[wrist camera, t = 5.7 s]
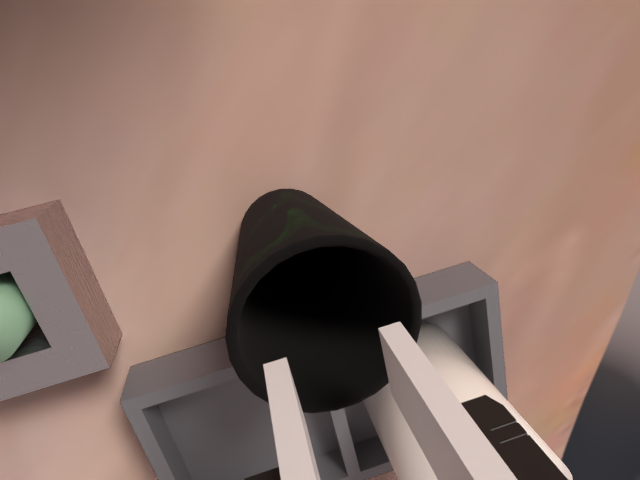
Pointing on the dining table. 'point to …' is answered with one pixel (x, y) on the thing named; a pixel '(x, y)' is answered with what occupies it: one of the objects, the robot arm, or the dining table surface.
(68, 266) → the grey square socket block
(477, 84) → the dining table surface
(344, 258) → the cup
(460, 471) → the robot arm
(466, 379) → the billet
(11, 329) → the button
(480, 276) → the grey divided tray
